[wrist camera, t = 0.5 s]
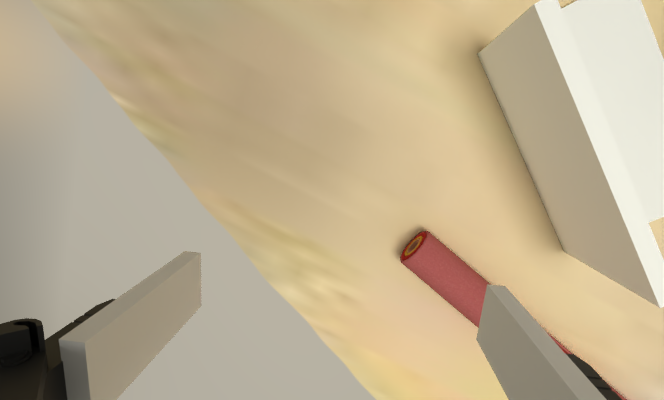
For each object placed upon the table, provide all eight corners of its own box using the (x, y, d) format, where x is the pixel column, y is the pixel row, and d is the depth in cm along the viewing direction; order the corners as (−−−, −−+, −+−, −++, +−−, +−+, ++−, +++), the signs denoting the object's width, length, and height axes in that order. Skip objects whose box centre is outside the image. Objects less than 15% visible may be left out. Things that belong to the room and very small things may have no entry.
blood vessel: (398, 253, 43) (400, 267, 39) (424, 225, 42) (430, 236, 38) (637, 456, 44) (670, 495, 39) (669, 434, 43) (707, 471, 38)
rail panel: (477, 53, 38) (533, 4, 24) (624, -25, 35) (785, -132, 21) (564, 251, 40) (660, 307, 27) (708, 195, 37) (902, 226, 23)
